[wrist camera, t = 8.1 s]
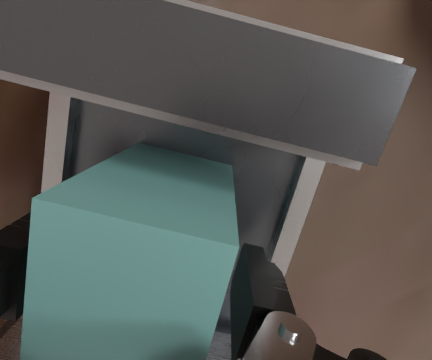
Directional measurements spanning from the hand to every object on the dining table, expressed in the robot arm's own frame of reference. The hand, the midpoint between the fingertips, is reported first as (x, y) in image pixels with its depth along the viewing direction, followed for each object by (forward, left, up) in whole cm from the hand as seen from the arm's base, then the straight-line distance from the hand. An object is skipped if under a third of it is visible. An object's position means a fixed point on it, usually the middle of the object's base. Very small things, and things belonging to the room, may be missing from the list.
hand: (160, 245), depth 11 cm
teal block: (0, 0, -2) cm, 2 cm away
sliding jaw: (-6, 0, -2) cm, 7 cm away
